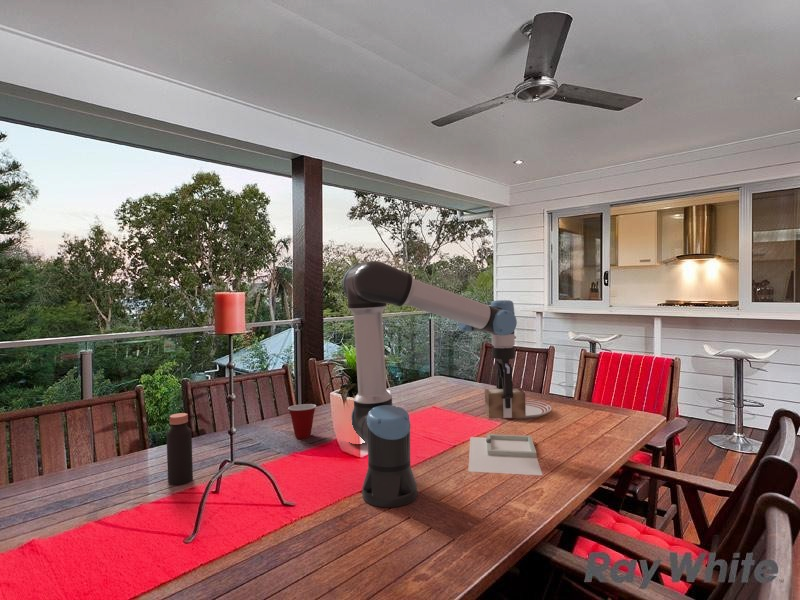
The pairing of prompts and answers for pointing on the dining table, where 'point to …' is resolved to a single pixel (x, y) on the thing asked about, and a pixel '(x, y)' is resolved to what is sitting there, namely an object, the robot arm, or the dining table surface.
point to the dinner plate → (535, 409)
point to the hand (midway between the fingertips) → (505, 413)
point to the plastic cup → (302, 419)
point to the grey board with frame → (503, 455)
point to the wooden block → (496, 403)
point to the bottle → (179, 450)
